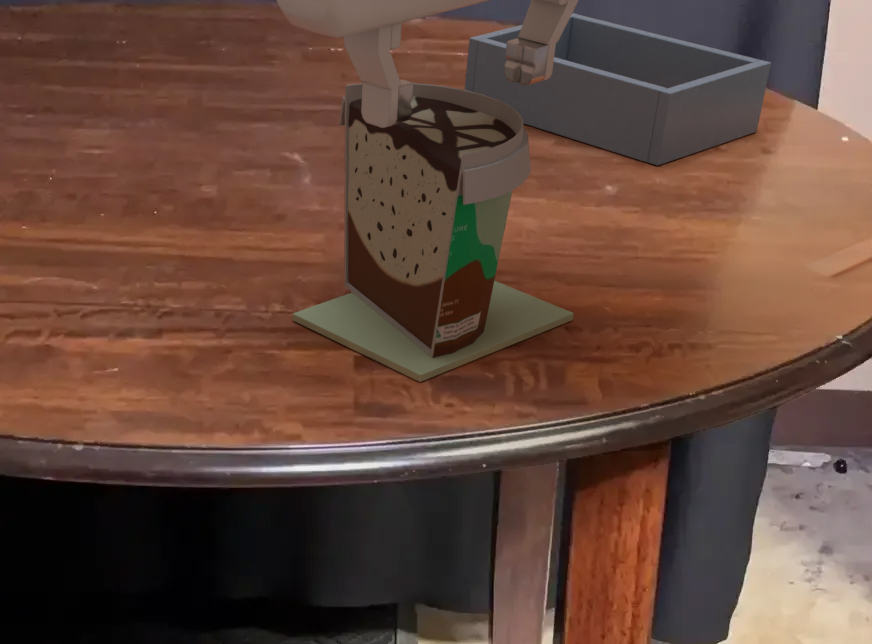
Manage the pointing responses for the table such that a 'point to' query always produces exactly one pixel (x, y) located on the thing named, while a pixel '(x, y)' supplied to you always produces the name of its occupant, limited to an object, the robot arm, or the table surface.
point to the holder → (628, 89)
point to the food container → (430, 210)
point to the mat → (382, 342)
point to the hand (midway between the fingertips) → (458, 100)
